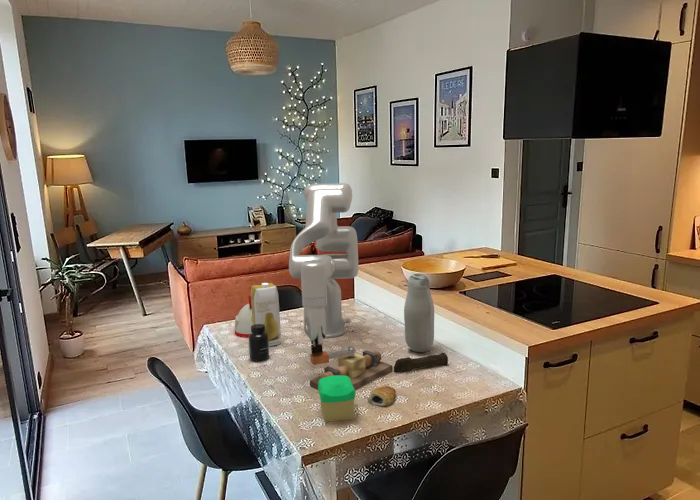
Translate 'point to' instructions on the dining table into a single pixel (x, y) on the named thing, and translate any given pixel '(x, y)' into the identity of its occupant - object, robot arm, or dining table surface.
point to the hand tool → (419, 362)
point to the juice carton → (266, 310)
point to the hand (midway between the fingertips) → (317, 356)
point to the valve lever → (330, 356)
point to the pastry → (382, 396)
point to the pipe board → (364, 376)
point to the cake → (336, 397)
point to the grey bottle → (419, 314)
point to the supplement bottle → (258, 343)
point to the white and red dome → (244, 321)
